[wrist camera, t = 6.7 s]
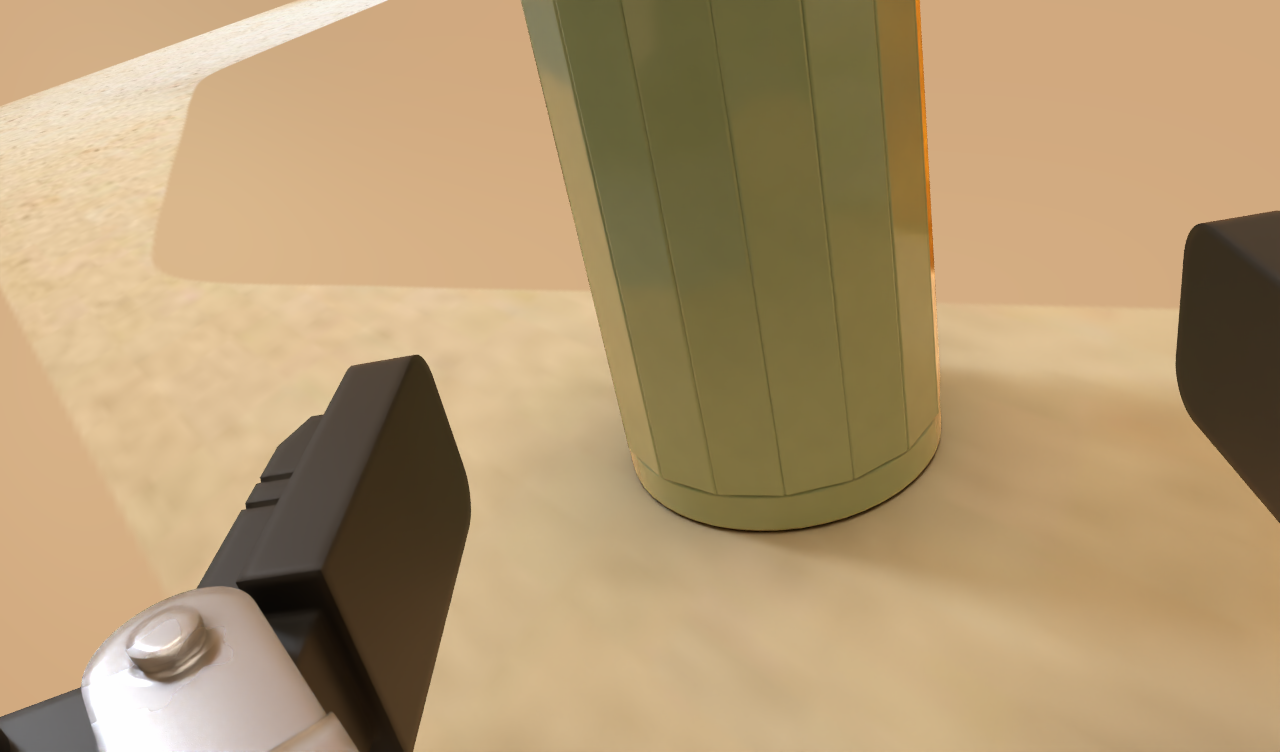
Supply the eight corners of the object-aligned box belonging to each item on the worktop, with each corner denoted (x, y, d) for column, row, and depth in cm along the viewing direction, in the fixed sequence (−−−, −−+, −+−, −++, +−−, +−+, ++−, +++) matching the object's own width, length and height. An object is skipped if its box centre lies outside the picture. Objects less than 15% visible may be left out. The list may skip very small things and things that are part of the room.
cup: (743, 581, 17) (625, -43, 12) (582, 434, 22) (453, -52, 17) (1012, 431, 19) (1003, -153, 14) (810, 327, 24) (752, -132, 19)
